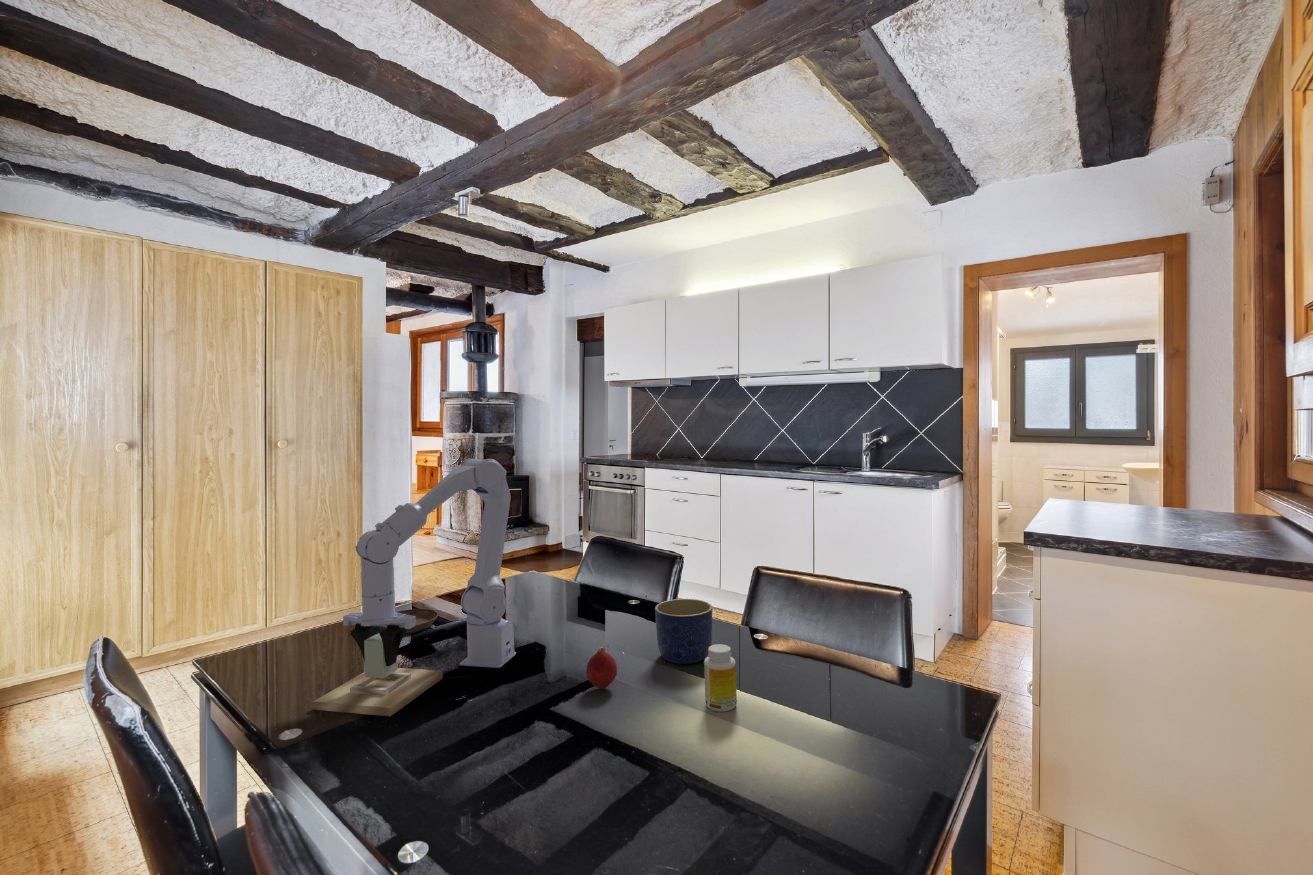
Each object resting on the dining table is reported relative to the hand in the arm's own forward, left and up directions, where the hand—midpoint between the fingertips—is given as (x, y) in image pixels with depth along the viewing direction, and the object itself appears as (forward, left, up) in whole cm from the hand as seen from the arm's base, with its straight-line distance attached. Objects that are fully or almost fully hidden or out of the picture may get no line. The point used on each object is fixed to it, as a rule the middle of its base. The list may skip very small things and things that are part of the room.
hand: (380, 663), depth 111 cm
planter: (-55, -26, -6) cm, 61 cm away
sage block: (0, 0, -2) cm, 2 cm away
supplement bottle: (-65, -5, -6) cm, 65 cm away
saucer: (+20, -36, -6) cm, 42 cm away
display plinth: (0, 0, -6) cm, 6 cm away
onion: (-42, -8, -6) cm, 43 cm away
